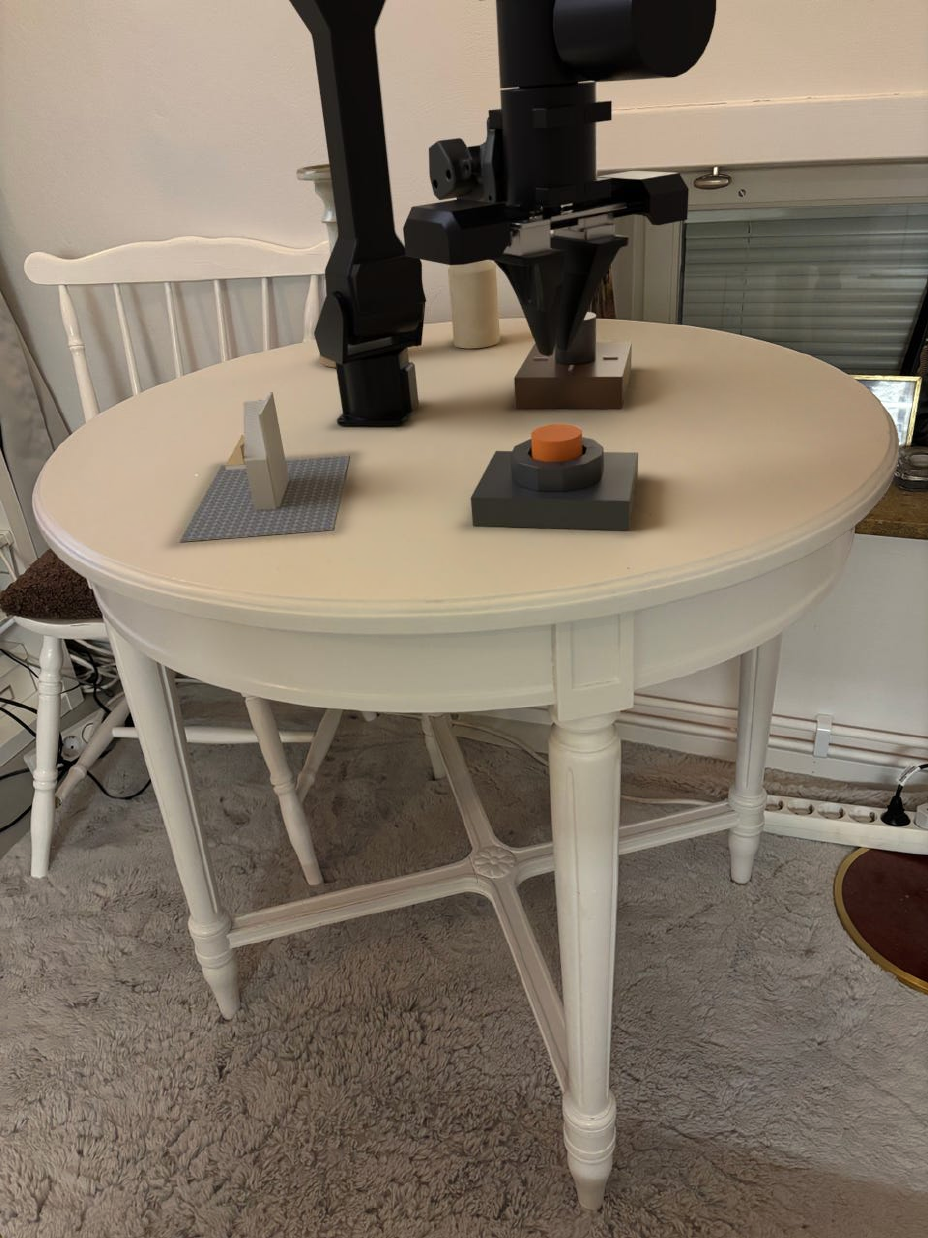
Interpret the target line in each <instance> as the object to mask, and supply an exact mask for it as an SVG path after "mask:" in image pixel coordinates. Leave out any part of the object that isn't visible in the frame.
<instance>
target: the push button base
mask: <svg viewBox="0 0 928 1238" xmlns="http://www.w3.org/2000/svg"><path fill="white" fill-rule="evenodd" d="M604 450H605V447H604V445H602V444H601V443H599V442H598V441H596V440H595V439H593V438H588V437H584V436H582V456H581V457H579V458H577V459H573V460H568V461H562V462H544V461H541V460H537V459H533V458H532V442H531V438H529V439H527V440H524V441H523V442H521V443H518V444H516V445H515V446H513V449H512V450H495V452H494V453H493V455H492V457H491V459H490V461H489V463H488V465H487V467H486V469H485V470H484V472H483V474H482V476H481V478H480V480H479V481H478V484H477V486H476V487H475V489H474V491H473V493H472V495H471V497H470V505H471V517H472V518H471V519H472V526H473V527H501V528H503V527H504V528H505V527H506V528H507V527H508V528H512V527H513V528H535V529H537V528H538V529H567V530H569V529H570V530H599V531H600V530H601V531H605V530H606V531H630V526H631V521H632V520H631V519H632V515H633V508H634V502H635V497H636V491H637V485H638V479H639V478H638V475H639V452H633V451H632V452H627V451H625V452H624V451H604Z"/></svg>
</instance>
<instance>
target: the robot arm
mask: <svg viewBox="0 0 928 1238" xmlns="http://www.w3.org/2000/svg"><path fill="white" fill-rule="evenodd" d="M288 1H289V2H290V4H291V6H292V7H293V9H294V10H295V12H296V14H297V15H298V16H299V18H300V19H301V21H302V22H303V24H304V26H305V27H306V28H307V30H308V32H309V33H310V35H311V38H312V45H313V53H314V60H315V67H316V74H317V82H318V90H319V99H320V105H321V111H322V112H321V113H322V120H323V128H324V136H325V143H326V150H327V159H328V164H329V166H330V174H331V181H332V189H333V197H334V204H335V212H336V219H337V227H338V238H337V240H336V243H335V245H334V248H333V250H332V253H331V256H330V255H329V257H328V261H327V263H326V266H325V269H324V281H325V282H326V295H325V298H324V301H323V304H322V307H321V310H320V313H319V316H318V320H317V322H316V326H315V329H314V331H313V334H314V340H315V343H316V345H317V349H318V353H319V354H320V355H321V356H322V357H324V358H327V359H329V360H332V361H334V362H335V365H336V368H335V370H336V377H337V384H338V385H337V386H338V392H339V397H340V405H341V411H342V413H341V415H339V416H338V417H337V419H336V424H337V425H338V426H401V425H404V423H406V421H407V420H408V419H409V417H410V416H411V415H412V414H413V413H414V411H415V410H417V408H418V406H419V405H420V399H419V393H418V392H419V391H418V383H417V372H416V365H415V363H414V362H413V361H410V358H409V357H410V356H409V349H408V348H412V347H416V348H417V347H421V346H422V344H423V333H424V323H425V315H426V314H425V313H426V303H427V298H426V294H425V290H424V284H423V283H424V282H423V262H422V261H428V262H431V263H437V264H441V265H447V266H451V265H465V264H470V263H475V262H480V261H485V260H491V261H492V262H493V263H494V264H495V265H496V267H498V268H499V269H500V270H501V271H502V272H503V273H504V275H505V276H506V278H507V280H508V282H509V284H510V286H511V287H512V290H513V292H514V294H515V296H516V298H517V300H518V302H519V305H520V307H521V310H522V313H523V315H524V318H525V320H526V323H527V325H528V328H529V330H530V333H531V335H532V338H533V341H534V344H535V343H536V346H537V349H538V351H539V353H540V354H542V355H545V356H551V355H553V352H554V348H555V343H556V347H557V349H558V350H561V351H565V352H566V351H569V350H570V349H571V347H572V345H573V343H574V341H575V338H576V336H577V334H578V332H579V329H580V327H581V325H582V323H583V320H584V318H585V316H586V314H587V312H589V309H590V307H591V305H592V302H593V301H594V298H595V296H596V294H597V291H598V290H599V288H600V286H601V284H602V282H603V280H604V279H605V276H606V275H607V273H608V271H609V269H610V267H611V265H612V264H613V261H615V259H616V256H617V254H618V252H619V251H620V249H622V248H624V247H627V246H628V245H629V243H630V236H627V235H622V234H616V223H614V219H617V218H623V217H628V216H632V215H633V216H642V217H646V219H647V220H648V221H649V223H650V224H651V225H652V226H662V225H667V224H668V225H669V224H672V223H677V222H682V221H687V220H688V213H689V195H690V193H689V191H690V189H689V187H688V185H687V183H686V181H685V180H684V178H683V177H682V175H681V173H680V172H670V171H669V172H668V171H648V170H645V171H644V170H629V171H628V170H627V171H624V172H623V171H622V172H617V173H611V174H605V175H598V123H601V122H609V121H612V116H613V115H612V113H613V112H612V111H613V108H612V107H613V106H612V105H613V104H612V103H613V101H612V100H598V83H606V82H607V83H609V82H621V81H622V82H625V81H638V80H639V81H640V80H656V79H657V80H658V79H670V78H671V79H672V78H677V77H680V76H682V75H684V74H686V73H687V72H689V71H690V70H691V69H692V68H693V67H694V66H695V65H696V64H697V63H698V62H699V60H700V59H701V58H702V56H703V55H704V53H705V51H706V49H707V46H708V44H709V43H710V40H711V37H712V33H713V31H714V26H715V22H716V21H715V20H716V14H717V0H495V13H496V15H495V16H496V35H497V57H498V72H499V73H498V74H499V75H498V76H499V89H500V90H499V92H500V93H499V97H500V108H496V109H488V117H487V118H486V139H485V141H484V142H483V143H481V144H478V145H471V146H470V145H469V146H467V145H466V143H465V141H464V140H463V139H462V138H460V137H457V138H449V139H440V140H437V141H436V142H434V143H433V144H432V145H431V146H430V147H428V163H429V164H428V168H429V169H428V171H429V181H430V184H431V189H432V192H433V195H434V196H435V198H436V199H437V200H438V202H433V203H428V204H420V205H414V206H411V208H410V210H409V213H408V214H407V217H406V220H405V222H404V225H403V227H402V231H403V232H402V233H403V241H402V240H401V237H400V236H399V235H398V233H397V230H396V223H395V222H396V221H395V213H394V203H393V193H392V183H391V172H390V164H389V162H390V161H389V154H388V153H389V152H388V143H387V133H386V124H385V123H386V122H385V116H384V115H385V113H384V104H383V103H384V102H383V95H382V83H381V76H380V75H381V73H380V64H379V54H378V53H379V52H378V45H377V27H378V24H379V21H380V19H381V16H382V13H383V11H384V8H385V5H386V3H387V0H288ZM479 1H480V2H481V1H484V0H479ZM551 231H552V233H551ZM421 260H422V261H421Z"/></svg>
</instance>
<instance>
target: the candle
mask: <svg viewBox="0 0 928 1238" xmlns="http://www.w3.org/2000/svg"><path fill="white" fill-rule="evenodd" d="M447 273H448V287H449V299H450V311H451V323H452V324H451V325H452V336H453V343H454V346H455V347H457V348H462V349H481V348H489V347H492V346H494V345H497V344H499V343H500V338H501V334H500V316H499V314H500V313H499V312H500V311H499V298H498V297H499V295H498V281H497V280H498V278H497V277H498V276H497V265H496V263H495V262H494V261H492V260H485V261H480V262H475V263H470V264H465V265H449V267H448V269H447Z"/></svg>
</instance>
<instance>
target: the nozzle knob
mask: <svg viewBox="0 0 928 1238" xmlns="http://www.w3.org/2000/svg"><path fill="white" fill-rule="evenodd" d="M596 342H597V314H596V313H594V312H591V311H587V314H586V316H585V318H584V320H583V323H582V325H581V327H580V329H579V332H578V334H577V336H576V338H575V341H574V343H573V345H572V347H571V349H570V350H569V351H566V352H565V351H561V350H558V349H557V347H556V343H555V360H556V361H557V362H559V363H564V364H581V363H587V362H590V361H593V360H595V359H596Z"/></svg>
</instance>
